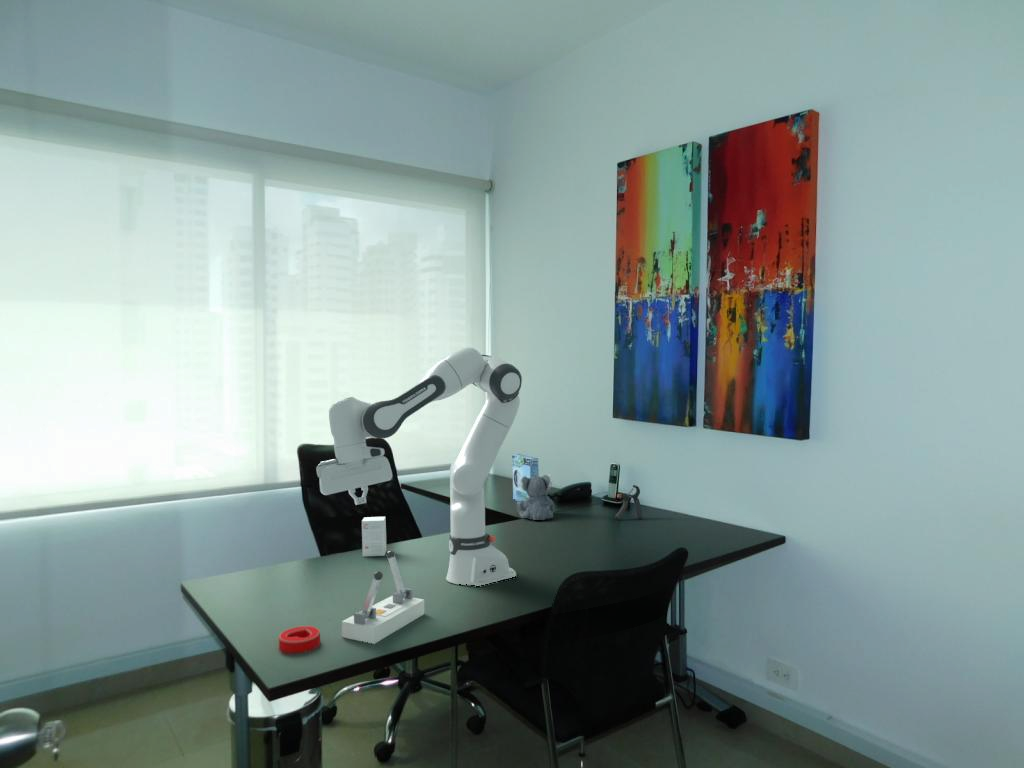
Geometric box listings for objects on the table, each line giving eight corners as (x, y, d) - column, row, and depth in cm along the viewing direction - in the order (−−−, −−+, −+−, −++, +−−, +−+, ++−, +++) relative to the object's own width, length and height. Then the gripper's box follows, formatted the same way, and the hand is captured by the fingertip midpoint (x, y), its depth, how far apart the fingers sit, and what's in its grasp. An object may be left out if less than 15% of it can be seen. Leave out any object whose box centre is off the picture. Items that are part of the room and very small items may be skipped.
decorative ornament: (321, 636, 170) (320, 624, 170) (319, 652, 161) (319, 639, 161) (281, 640, 168) (281, 627, 168) (276, 656, 159) (276, 643, 159)
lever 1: (364, 613, 171) (380, 568, 169) (371, 618, 170) (386, 572, 168) (356, 617, 169) (372, 571, 166) (363, 622, 168) (379, 576, 165)
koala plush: (553, 512, 309) (553, 470, 309) (559, 521, 292) (558, 477, 291) (516, 513, 308) (516, 471, 308) (519, 522, 290) (518, 477, 290)
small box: (386, 551, 248) (386, 516, 247) (385, 556, 241) (384, 520, 241) (364, 552, 247) (363, 516, 246) (362, 557, 240) (361, 520, 240)
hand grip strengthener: (614, 519, 294) (613, 485, 294) (641, 518, 297) (641, 484, 296) (615, 520, 292) (615, 486, 292) (643, 519, 294) (642, 485, 294)
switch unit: (394, 608, 189) (394, 585, 189) (424, 614, 184) (424, 590, 184) (342, 637, 169) (341, 611, 169) (373, 644, 165) (373, 617, 164)
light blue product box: (539, 505, 326) (539, 458, 326) (530, 506, 324) (529, 459, 324) (521, 498, 344) (520, 453, 343) (512, 499, 342) (511, 454, 341)
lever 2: (403, 597, 185) (389, 550, 187) (410, 595, 184) (395, 548, 186) (397, 601, 183) (383, 553, 184) (403, 599, 182) (389, 551, 183)
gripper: (317, 462, 182) (326, 513, 181) (389, 447, 191) (398, 495, 191) (312, 463, 187) (321, 512, 186) (382, 448, 197) (391, 495, 196)
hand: (360, 503), depth 189 cm, fingers closed
